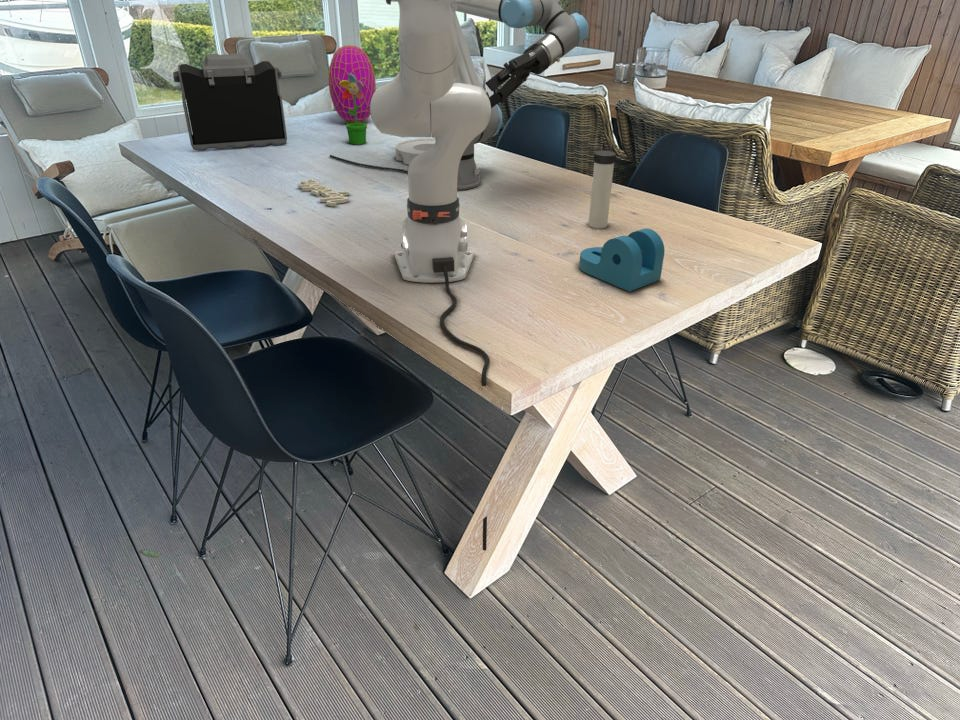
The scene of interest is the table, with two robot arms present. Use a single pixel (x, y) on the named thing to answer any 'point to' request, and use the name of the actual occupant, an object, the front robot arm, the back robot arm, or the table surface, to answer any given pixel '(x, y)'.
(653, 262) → the camera mount
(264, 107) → the electronic device
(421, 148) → the ashtray
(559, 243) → the table surface
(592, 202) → the beige long cylinder
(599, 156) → the lid
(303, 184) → the decorative sign
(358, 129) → the potted flower
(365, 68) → the decorative egg
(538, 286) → the table surface
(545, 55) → the back robot arm
